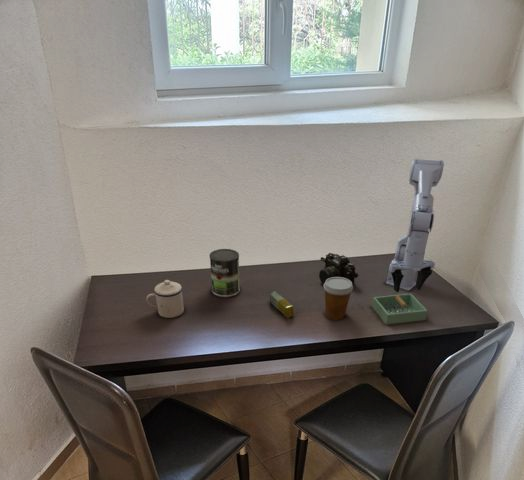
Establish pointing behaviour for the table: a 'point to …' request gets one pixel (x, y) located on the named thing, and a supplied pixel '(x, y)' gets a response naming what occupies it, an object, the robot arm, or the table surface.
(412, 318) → the green open tray
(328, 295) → the disposable coffee cup
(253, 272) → the table surface
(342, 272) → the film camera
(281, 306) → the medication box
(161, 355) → the table surface
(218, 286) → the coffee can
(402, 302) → the dish rack
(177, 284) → the teacup with lid
